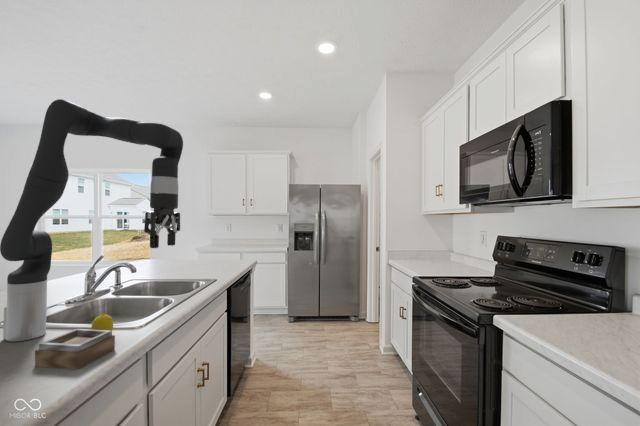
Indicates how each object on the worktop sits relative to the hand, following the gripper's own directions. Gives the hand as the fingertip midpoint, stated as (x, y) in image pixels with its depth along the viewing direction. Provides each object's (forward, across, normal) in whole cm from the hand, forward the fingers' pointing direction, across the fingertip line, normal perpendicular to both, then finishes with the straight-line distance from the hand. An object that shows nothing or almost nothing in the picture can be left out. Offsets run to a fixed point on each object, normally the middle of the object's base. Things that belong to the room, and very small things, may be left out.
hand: (163, 246), depth 95 cm
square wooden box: (+29, +11, -17) cm, 35 cm away
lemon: (+30, -1, -20) cm, 35 cm away
